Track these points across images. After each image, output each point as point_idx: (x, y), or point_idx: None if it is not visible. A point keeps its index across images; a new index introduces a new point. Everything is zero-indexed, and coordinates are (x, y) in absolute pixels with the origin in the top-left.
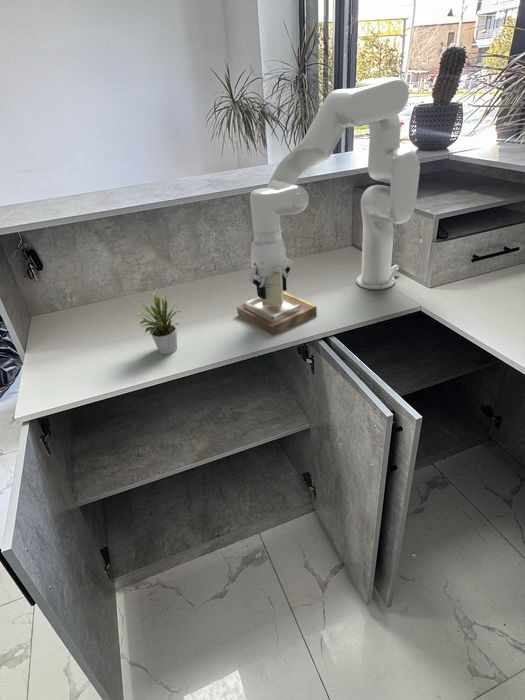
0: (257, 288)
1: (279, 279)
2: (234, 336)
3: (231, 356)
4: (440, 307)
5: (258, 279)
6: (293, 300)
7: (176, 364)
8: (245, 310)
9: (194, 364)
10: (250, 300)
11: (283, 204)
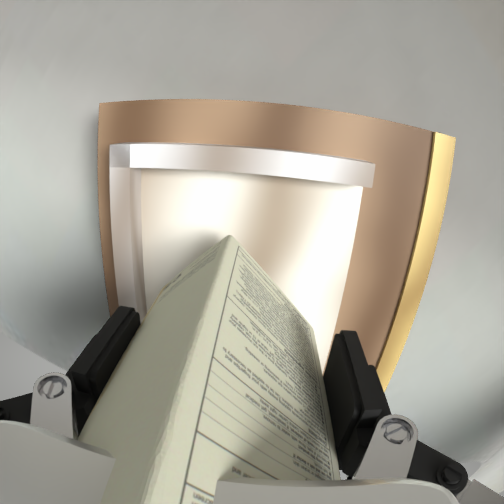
0: (72, 377)
1: None
2: (34, 258)
3: (6, 332)
4: (482, 475)
5: (60, 430)
6: (380, 314)
7: None
8: (105, 185)
9: None
10: (160, 149)
11: None
